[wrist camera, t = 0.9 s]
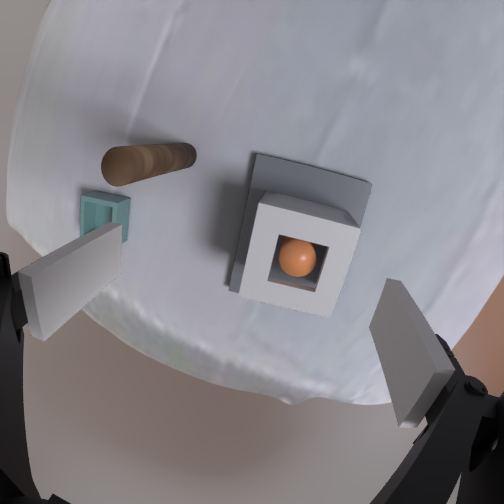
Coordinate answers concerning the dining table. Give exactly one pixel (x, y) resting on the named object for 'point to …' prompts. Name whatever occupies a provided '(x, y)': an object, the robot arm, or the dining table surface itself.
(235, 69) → the dining table surface
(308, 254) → the button
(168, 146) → the brown wooden rod
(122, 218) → the box
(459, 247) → the dining table surface
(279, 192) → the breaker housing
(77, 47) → the dining table surface
